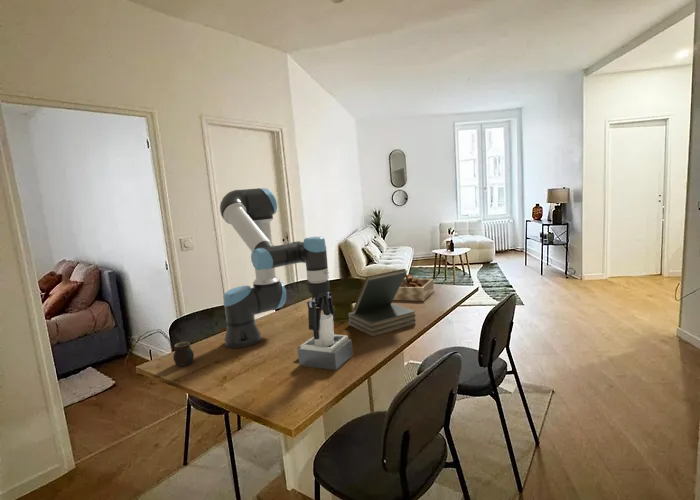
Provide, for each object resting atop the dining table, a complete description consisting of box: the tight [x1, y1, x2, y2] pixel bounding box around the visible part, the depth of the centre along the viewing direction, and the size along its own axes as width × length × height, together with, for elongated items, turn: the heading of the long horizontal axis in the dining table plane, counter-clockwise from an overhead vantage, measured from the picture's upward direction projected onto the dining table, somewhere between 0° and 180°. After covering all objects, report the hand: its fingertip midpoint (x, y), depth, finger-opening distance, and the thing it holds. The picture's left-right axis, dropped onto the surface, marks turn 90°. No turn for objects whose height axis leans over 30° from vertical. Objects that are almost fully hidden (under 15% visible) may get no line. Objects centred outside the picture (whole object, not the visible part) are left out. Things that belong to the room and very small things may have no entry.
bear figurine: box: [404, 272, 421, 287], centre depth 221 cm, size 14×15×12 cm
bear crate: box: [393, 278, 435, 302], centre depth 221 cm, size 21×21×7 cm
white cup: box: [319, 313, 335, 347], centre depth 141 cm, size 8×8×10 cm
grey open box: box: [297, 333, 354, 371], centre depth 143 cm, size 19×13×8 cm
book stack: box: [347, 268, 417, 337], centre depth 174 cm, size 23×20×25 cm
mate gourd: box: [173, 339, 195, 367], centre depth 151 cm, size 7×8×10 cm
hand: (324, 342), depth 142 cm, fingers closed on white cup, 7 cm apart
